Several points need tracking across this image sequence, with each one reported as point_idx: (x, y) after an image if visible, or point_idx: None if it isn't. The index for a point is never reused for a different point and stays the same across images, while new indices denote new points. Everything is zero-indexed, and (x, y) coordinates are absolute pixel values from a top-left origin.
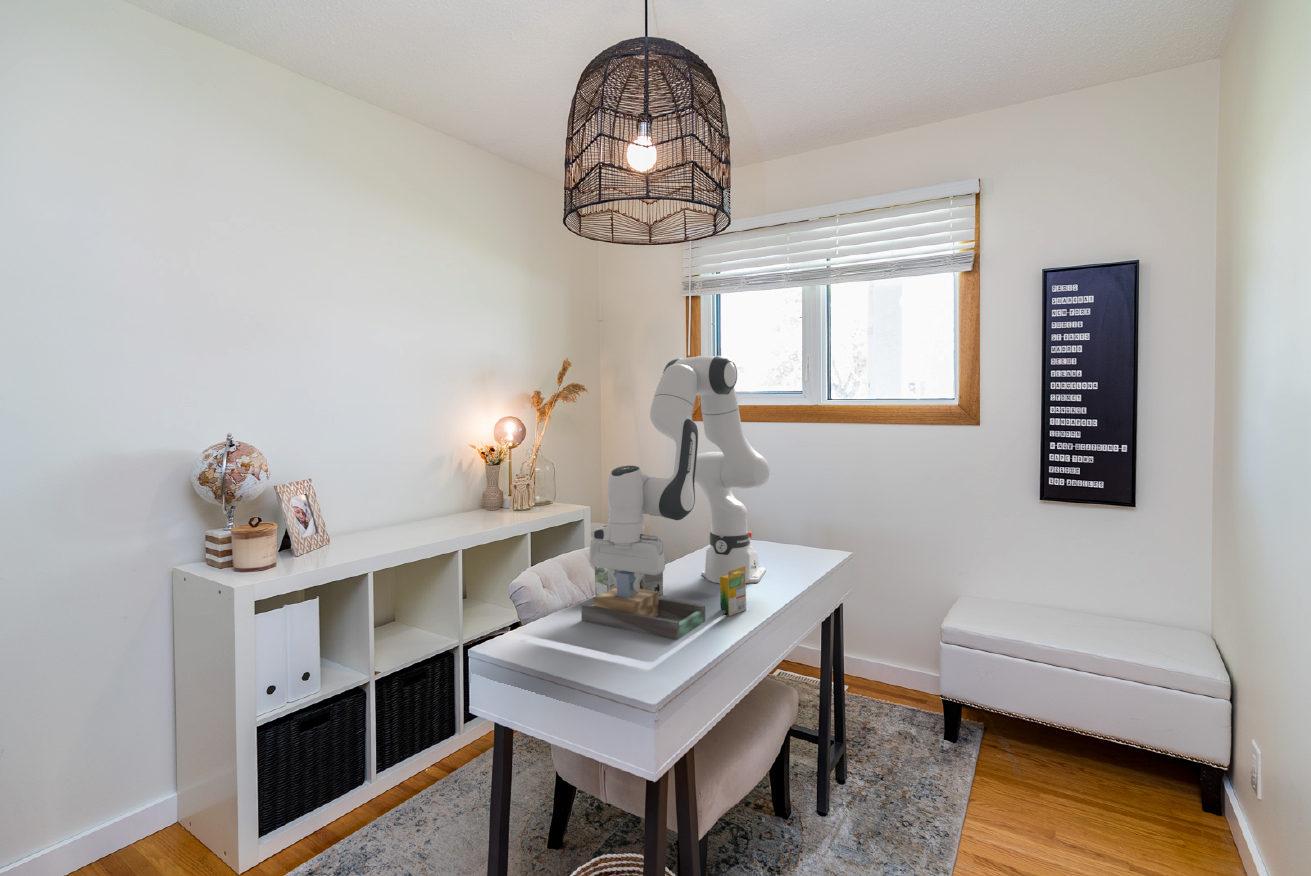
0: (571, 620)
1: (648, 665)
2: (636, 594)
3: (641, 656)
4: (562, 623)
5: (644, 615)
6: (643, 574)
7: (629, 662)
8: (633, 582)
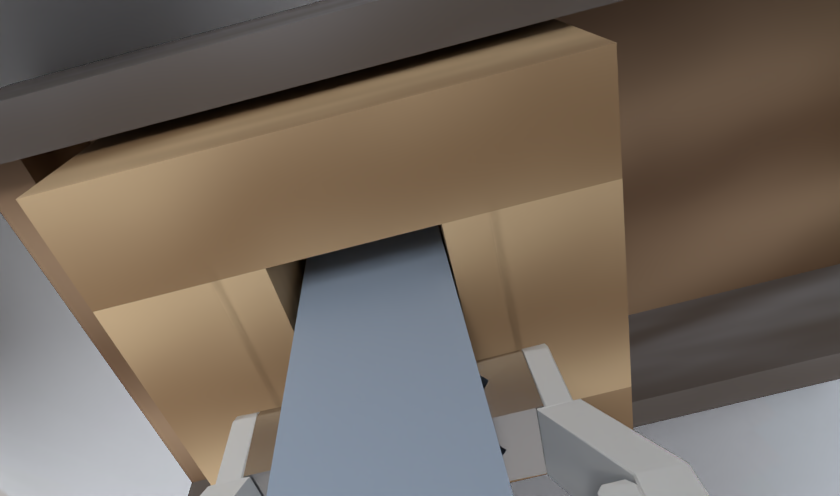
0: (101, 410)
1: (817, 461)
2: (466, 289)
3: (750, 436)
4: (123, 458)
5: (707, 389)
6: (698, 484)
7: (735, 487)
8: (519, 456)
